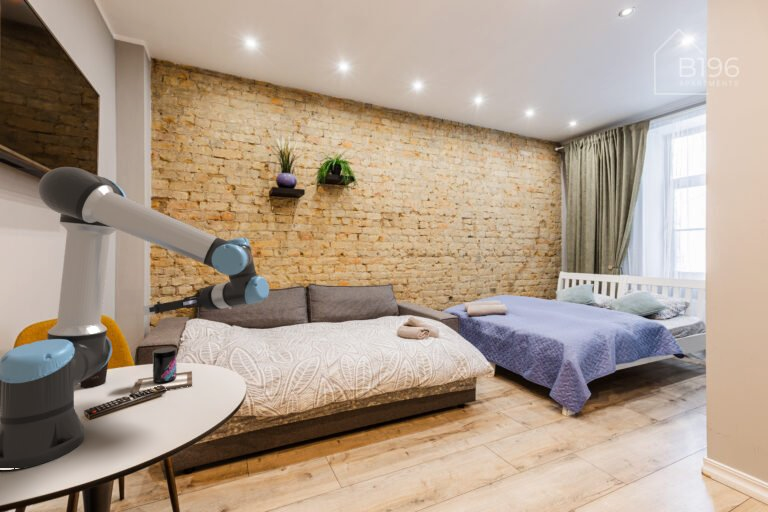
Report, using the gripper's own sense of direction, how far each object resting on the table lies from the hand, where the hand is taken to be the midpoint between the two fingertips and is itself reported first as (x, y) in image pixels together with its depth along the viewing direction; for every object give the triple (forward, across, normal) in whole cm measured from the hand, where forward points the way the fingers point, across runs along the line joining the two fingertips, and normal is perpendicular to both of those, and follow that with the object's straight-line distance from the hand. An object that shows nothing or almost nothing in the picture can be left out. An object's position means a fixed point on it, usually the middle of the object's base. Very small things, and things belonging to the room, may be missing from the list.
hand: (164, 306), depth 108 cm
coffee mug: (+34, -3, -21) cm, 40 cm away
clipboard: (+11, +4, -26) cm, 28 cm away
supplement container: (+10, +4, -25) cm, 27 cm away
